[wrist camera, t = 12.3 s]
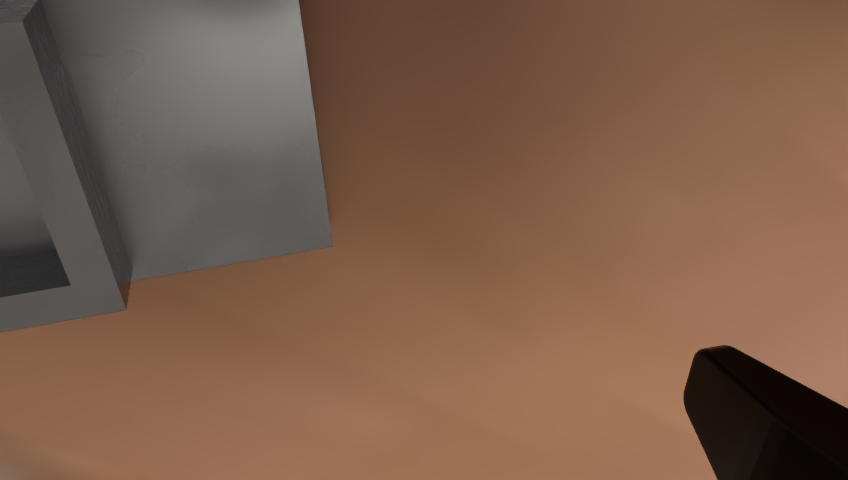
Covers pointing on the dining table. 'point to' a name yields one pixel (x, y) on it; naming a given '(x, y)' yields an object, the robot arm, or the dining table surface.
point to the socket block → (149, 147)
